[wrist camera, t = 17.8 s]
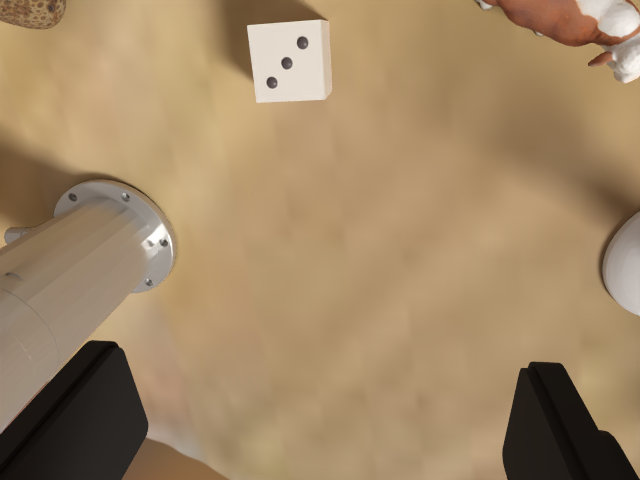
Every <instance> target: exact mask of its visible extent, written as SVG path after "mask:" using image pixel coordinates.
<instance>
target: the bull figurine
mask: <svg viewBox="0 0 640 480" xmlns="http://www.w3.org/2000/svg"><path fill="white" fill-rule="evenodd" d="M476 1H477V2H479V3H480V5H481V8H482V9H483V10H490V9H492V8H493V7H494V6H500V7H501V8H502V10H503V11H504V13H505V14H506V16H507V17H508V18H509V19H510V20H511V21H512V22H513V23H515V24H516V25H518V26H521V27H525V28H529V29H532V30H534V31H535V33H536V35H538V36H543V35H545V36H547V37H550V38H552V39H553V40H555V41H557V42H559V43H561V44H564V45H567V46H573V47H578V46H583V45H586V44H589V43H596V44H597V45H600V46H601V47H602V48H603V49H604V50H605V52H604V53H602V54H600V55H599V56H597V57H596V58H595V59H593V60H592V61H590V62H589V63H588V66H599V65H603V64H605V63H607V65H608V66H609V67H610V68H611V69H613V70H614V77H615V79H616V80H617V81H621V82H622V83H628V82H630V81H632V80H634V79H636V78H638V77H639V76H640V13H639V10H638V9H637V7H636V6H635V5H634V4H633V3H632V2H631V1H630V0H476Z"/></svg>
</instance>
